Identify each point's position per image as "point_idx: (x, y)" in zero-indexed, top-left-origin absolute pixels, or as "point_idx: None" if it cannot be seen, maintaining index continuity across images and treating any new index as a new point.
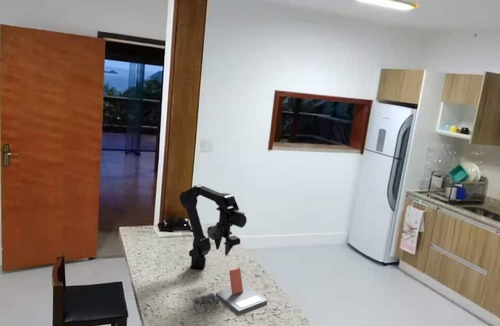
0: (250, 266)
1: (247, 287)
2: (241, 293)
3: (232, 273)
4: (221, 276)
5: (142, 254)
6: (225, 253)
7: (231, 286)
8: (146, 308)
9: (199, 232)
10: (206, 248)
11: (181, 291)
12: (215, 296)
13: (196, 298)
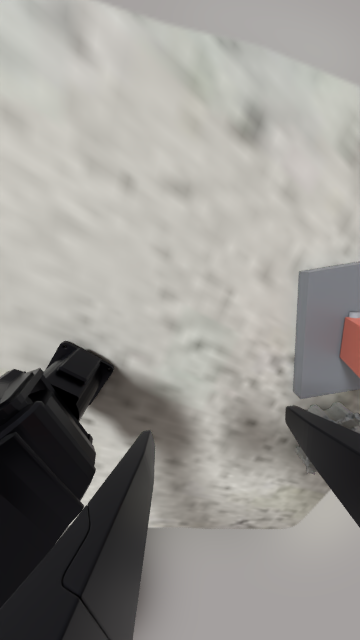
0: (138, 91)
1: (341, 273)
2: None
3: None
4: (187, 318)
5: None
6: (305, 442)
7: (358, 372)
8: (252, 525)
9: None
10: (59, 454)
11: (222, 459)
12: (337, 422)
13: (308, 465)
